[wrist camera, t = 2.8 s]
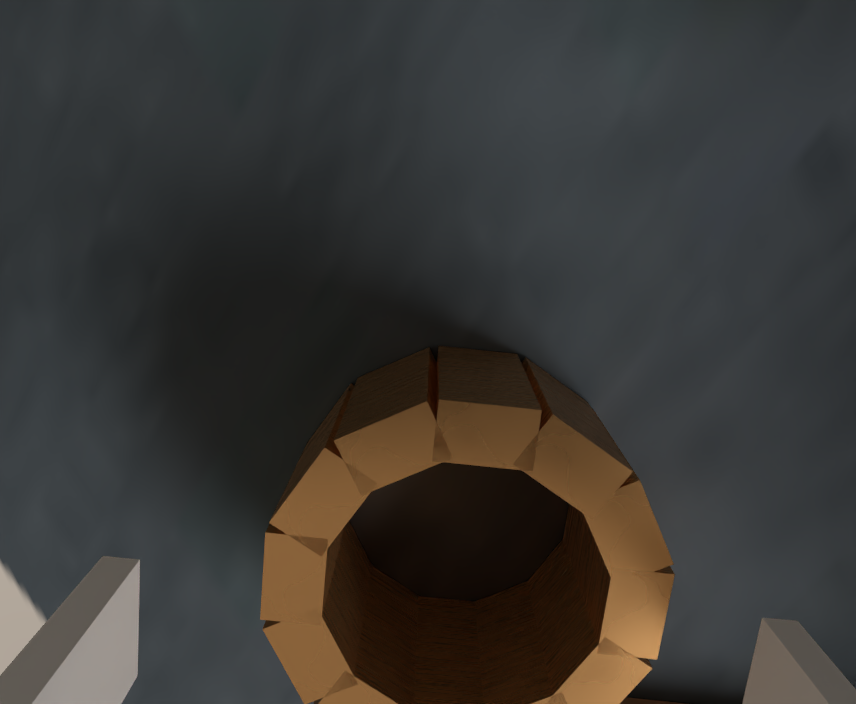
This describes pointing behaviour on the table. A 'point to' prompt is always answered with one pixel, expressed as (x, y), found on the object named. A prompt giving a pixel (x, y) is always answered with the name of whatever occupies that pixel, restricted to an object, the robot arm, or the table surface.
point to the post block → (645, 701)
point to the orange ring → (457, 619)
